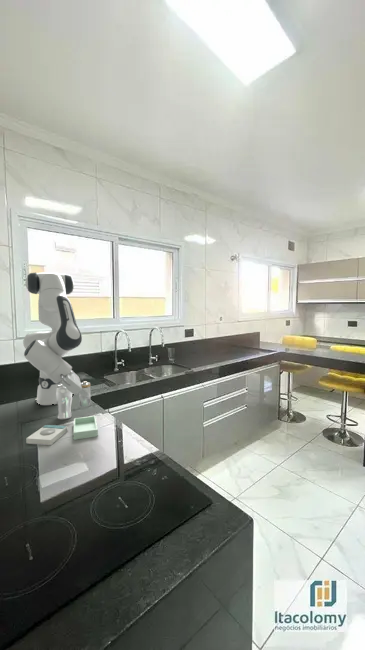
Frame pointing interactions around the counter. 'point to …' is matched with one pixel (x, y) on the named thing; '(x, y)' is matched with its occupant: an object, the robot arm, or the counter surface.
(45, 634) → the counter surface
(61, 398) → the clear plastic bottle
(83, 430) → the trough
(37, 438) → the white flat block
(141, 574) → the counter surface
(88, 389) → the cell
